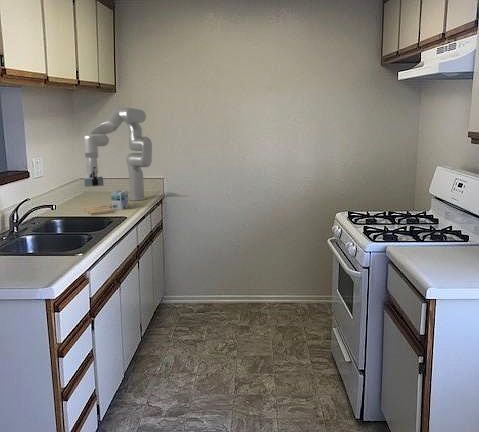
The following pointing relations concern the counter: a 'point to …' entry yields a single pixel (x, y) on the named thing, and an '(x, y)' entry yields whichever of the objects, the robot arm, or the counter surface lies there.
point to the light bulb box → (119, 200)
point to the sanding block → (89, 182)
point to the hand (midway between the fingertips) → (93, 184)
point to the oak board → (98, 210)
